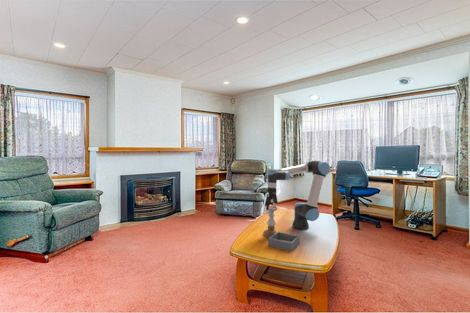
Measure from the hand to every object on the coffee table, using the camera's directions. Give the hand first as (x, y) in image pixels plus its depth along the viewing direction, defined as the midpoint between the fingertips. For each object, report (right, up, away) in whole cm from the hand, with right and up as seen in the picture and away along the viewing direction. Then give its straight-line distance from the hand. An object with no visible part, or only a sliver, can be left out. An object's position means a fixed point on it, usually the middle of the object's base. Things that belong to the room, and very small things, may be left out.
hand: (271, 212), depth 214 cm
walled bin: (+7, -21, -19) cm, 29 cm away
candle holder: (0, -20, +1) cm, 20 cm away
